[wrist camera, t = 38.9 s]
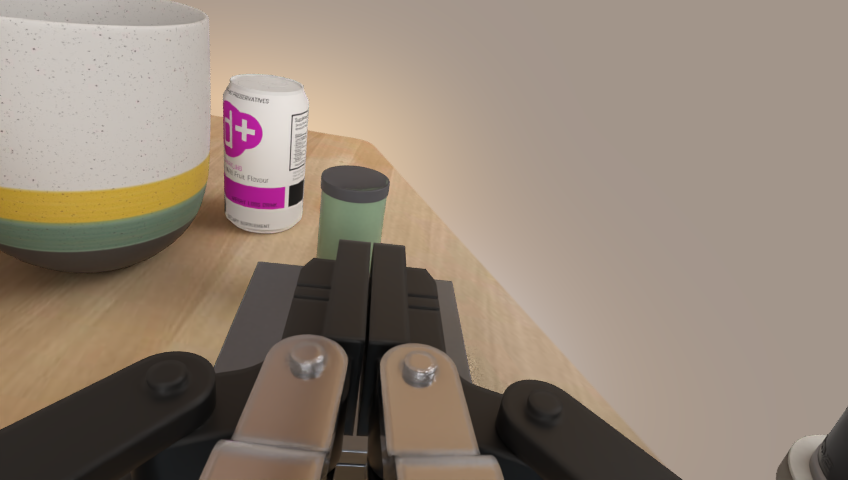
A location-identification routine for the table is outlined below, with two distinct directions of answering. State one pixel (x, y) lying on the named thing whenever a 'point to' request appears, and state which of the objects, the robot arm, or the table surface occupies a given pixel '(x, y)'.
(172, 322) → the table surface
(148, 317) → the table surface
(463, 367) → the lid
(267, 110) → the supplement can
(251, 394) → the robot arm
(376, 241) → the spice tin
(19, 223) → the planter
